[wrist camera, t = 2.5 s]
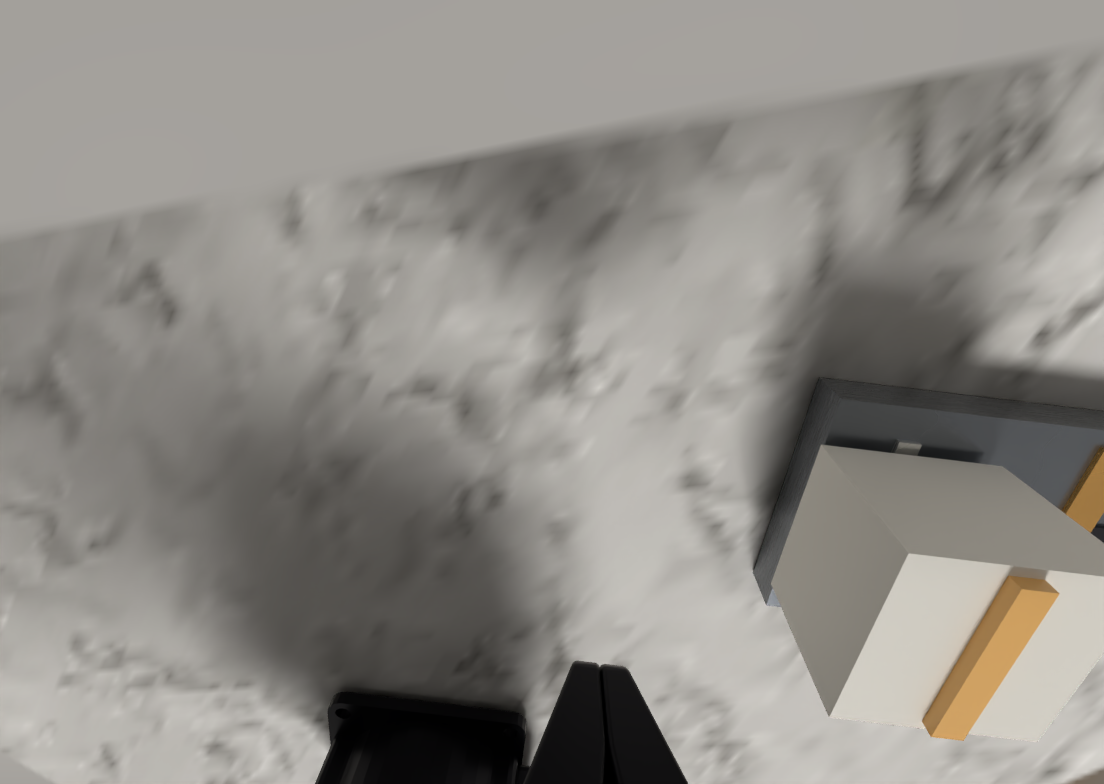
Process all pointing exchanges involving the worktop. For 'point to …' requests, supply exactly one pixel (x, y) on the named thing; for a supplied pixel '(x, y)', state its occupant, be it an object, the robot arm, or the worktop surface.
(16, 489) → the worktop surface
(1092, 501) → the panel
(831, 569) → the block
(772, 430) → the worktop surface
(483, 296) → the worktop surface
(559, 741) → the robot arm
